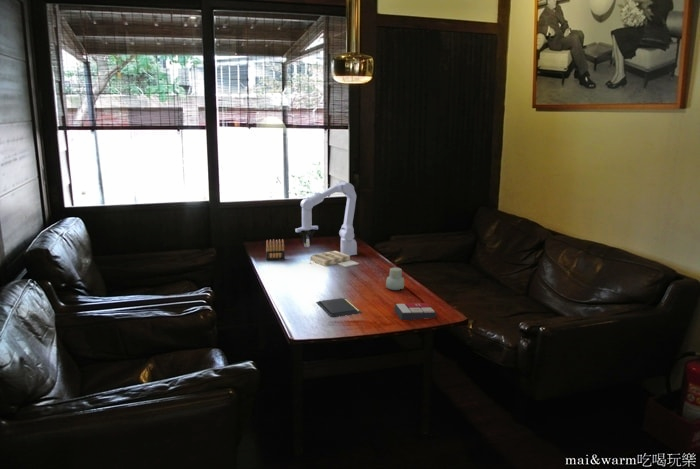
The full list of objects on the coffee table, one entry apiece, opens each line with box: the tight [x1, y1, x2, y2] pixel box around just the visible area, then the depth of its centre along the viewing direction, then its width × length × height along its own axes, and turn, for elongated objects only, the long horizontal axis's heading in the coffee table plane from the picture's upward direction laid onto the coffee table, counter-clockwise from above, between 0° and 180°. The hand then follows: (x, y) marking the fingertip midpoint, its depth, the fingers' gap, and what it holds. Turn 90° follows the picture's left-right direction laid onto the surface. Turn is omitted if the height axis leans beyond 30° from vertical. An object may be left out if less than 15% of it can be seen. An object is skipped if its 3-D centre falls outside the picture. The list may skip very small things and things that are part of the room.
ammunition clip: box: [265, 238, 286, 261], centre depth 309 cm, size 11×2×12 cm, turn 102°
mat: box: [337, 259, 360, 268], centre depth 302 cm, size 10×7×1 cm
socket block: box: [309, 250, 351, 267], centre depth 309 cm, size 18×14×3 cm
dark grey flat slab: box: [315, 297, 363, 318], centre depth 237 cm, size 20×2×15 cm
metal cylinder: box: [303, 235, 310, 248], centre depth 311 cm, size 3×3×7 cm
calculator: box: [394, 302, 437, 321], centre depth 230 cm, size 11×4×15 cm
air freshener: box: [385, 267, 405, 291], centre depth 262 cm, size 11×8×10 cm
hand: (306, 242), depth 311 cm, fingers closed on metal cylinder, 3 cm apart
